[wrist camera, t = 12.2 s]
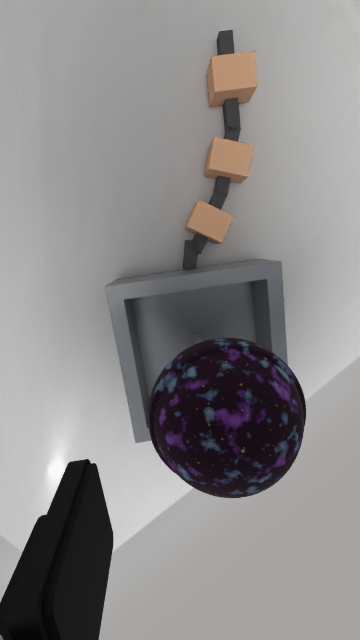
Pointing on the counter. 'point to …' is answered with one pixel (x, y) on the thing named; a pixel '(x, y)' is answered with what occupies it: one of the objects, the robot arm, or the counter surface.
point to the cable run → (223, 143)
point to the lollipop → (227, 417)
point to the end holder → (191, 319)
